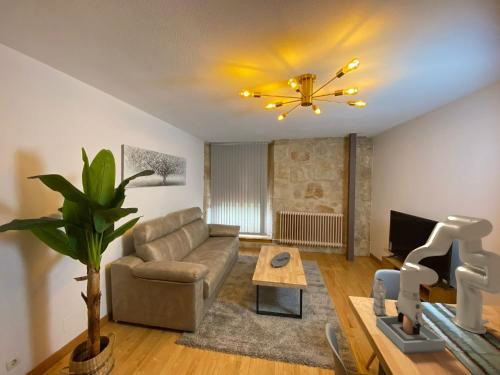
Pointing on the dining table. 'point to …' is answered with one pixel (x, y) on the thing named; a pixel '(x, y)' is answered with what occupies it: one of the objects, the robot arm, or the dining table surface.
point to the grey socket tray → (410, 337)
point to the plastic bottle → (379, 297)
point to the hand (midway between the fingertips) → (408, 327)
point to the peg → (407, 325)
